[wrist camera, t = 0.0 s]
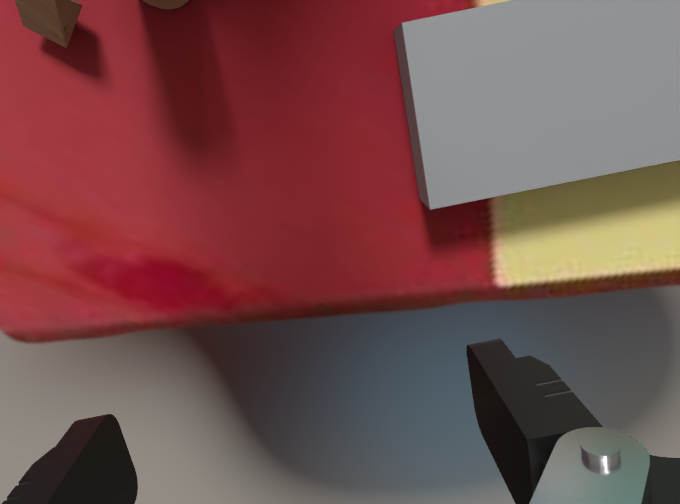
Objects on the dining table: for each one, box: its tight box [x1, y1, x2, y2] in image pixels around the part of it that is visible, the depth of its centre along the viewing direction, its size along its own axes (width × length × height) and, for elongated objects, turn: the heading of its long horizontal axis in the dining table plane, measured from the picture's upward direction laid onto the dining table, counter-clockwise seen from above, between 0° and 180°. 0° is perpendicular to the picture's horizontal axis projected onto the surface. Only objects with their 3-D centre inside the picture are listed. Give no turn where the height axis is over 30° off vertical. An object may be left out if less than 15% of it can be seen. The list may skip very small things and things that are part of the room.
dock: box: [393, 0, 680, 210], centre depth 37 cm, size 12×26×4 cm, turn 101°
